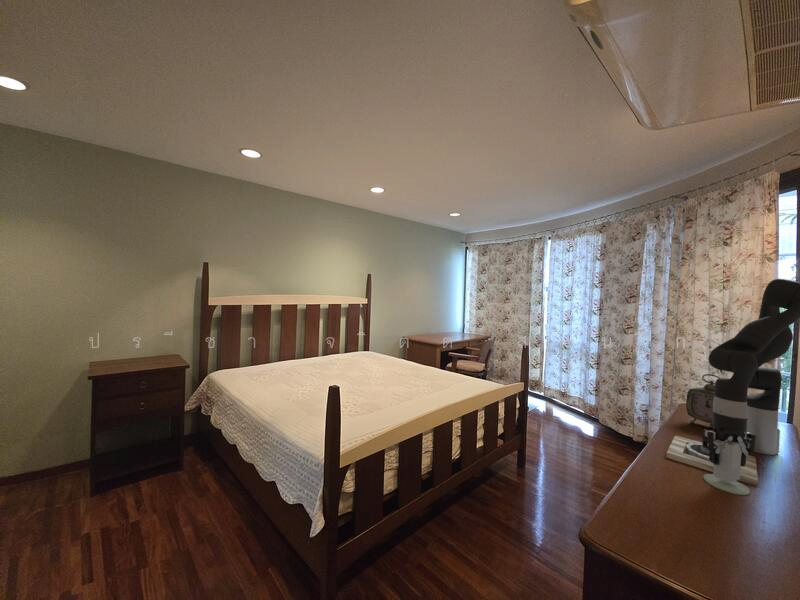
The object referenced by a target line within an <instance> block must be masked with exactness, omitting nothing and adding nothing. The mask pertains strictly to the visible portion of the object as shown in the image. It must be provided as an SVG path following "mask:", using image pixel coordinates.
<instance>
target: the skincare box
mask: <svg viewBox="0 0 800 600" xmlns="http://www.w3.org/2000/svg"><path fill="white" fill-rule="evenodd" d="M716 442H717V443H719V444H721V443H722V441H720V440H716ZM724 445H725V448H724V449H722V450H721V451H720V452H719V454H720V458H719V465H715V464H714V471H713V472H712V474H713V476H714V477H717V478H719V479H721V480H723V481H726V482H729V483H732V482H734V481H739V479H740V470H741V455H742V450H741V447H740V444H739V443H738V442H729V443H725V444H724ZM716 447H717V445H715V449H716Z"/></svg>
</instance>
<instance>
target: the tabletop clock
mask: <svg viewBox="0 0 800 600" xmlns="http://www.w3.org/2000/svg"><path fill="white" fill-rule="evenodd" d="M706 376H711V377H715V378H717V379H719V378H721V377H720V376H718V375H715V374H712V373H711V374H710V373H706V374H702V376H701V379H702V380H703V381H704V382H705V383H706V384H704V386H703V387H696V388H689V390H688V391H687V395H686V400H685V401H686V402H685V407H686V408H685V409H686V413H687V415H688V416H689V417H691V418H693V420H690V421H689V424H691V423H693V424H692V425H695V422H696V421H697V420H699V421H701V422H704V423H707V424H709V427H710V426H711V427H710V428H712V427H713V428H714V425H713V423H712V416H713V401H714V396H715V382H714V380H709V381H708V380H706V379H704V377H706Z"/></svg>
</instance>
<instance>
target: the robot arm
mask: <svg viewBox="0 0 800 600" xmlns="http://www.w3.org/2000/svg"><path fill="white" fill-rule="evenodd" d="M780 309H785V310H784V311H780ZM799 319H800V281H797V280H791V279H785V278H775V279H773V280H771V281H769V283H768V284H767V286H765V290H764V291H763V295H762V298H761V304H760V310H759V314H758V318H757V319H755V320H753V321H751V322H748V323H747V324H745V325H744V326H743V327H742V328H741V330H740V331H739V332H738V333H736V334H735V336H734V337H732V338H730V339H729V340H727V341H725V342H723V343H721V344H720V345H717V346H716V347H714V349H712V350H711V351H710V352H709V355H708V363H709V365H710V366H711V367H713V368H714V369H716V370H720V371H725V372H730V373H733V374H732V375H731V377H730V378H727V377H723V378H722V377H720V378H717V379H715V382H714V383H715V384H714V385H715V396H714V401H713V416H712V423H713V425H714V427H713V428H712V430H707V429H706V428H703V429H702V442H701V443H702V446H703V447H704V448H706V449H708V450H709V451H710V453H709V454H708V457H709V460H710V461H711V463H713V464H715V465H719V458H720V454H719V452H720V451H721V450H722V449H724V448H725V445H724V444H725V443H729V442H738V443H739V444H740V447H741V450H742V455H741V466H743V467H744V466H745V464H746V455H749V454H754V453H758V454H763V455H767V456H776V455H779V454H780V453H779V452H780V437H781V435H780V434H781V430H780V429H779V428H778V422H779V405H780V396H781V390H782V389H781V388H782V381H783V380H782V376H783V375H782V373H781V371H780V370H779V369H778V368H776V367H769V366H763V365H765V364H766V363H769V362H771V361H773V360H776V359H778V358H780V357H782V356H783V355H785V354H786V353H787V352H788V351H789V349H790V346H791V344H792V341H793V339H794V334H793V331H792V329H791V327H790V326H791V325H793V324H794V323H795V322H797V321H799ZM749 389H752V390H760V391H764V392H761V393H758V394H754V395H748V390H749ZM716 440H720V441H722V443H721V444H719V443H717V442H716ZM715 445H717V447H716V449H715ZM778 453H779V454H778Z"/></svg>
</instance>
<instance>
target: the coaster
mask: <svg viewBox="0 0 800 600" xmlns="http://www.w3.org/2000/svg"><path fill="white" fill-rule="evenodd" d="M703 479H704V481H705V482H706V483H707V484H708V485H710V486H711V487H714V488H716V489H719V490H721V491H723V492H727V493H728V494H729V493H730V494H733V495H738V496H747V495H749V494H750V492H751V491H750V488H749V487H748V486H747V485H744V484H743V483H741V482H739V481H738V480H736V481H734V482H732V483H729V482H726V481H723V480H721V479H719V478H717V477H714V476H713V473H705V474H703Z"/></svg>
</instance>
